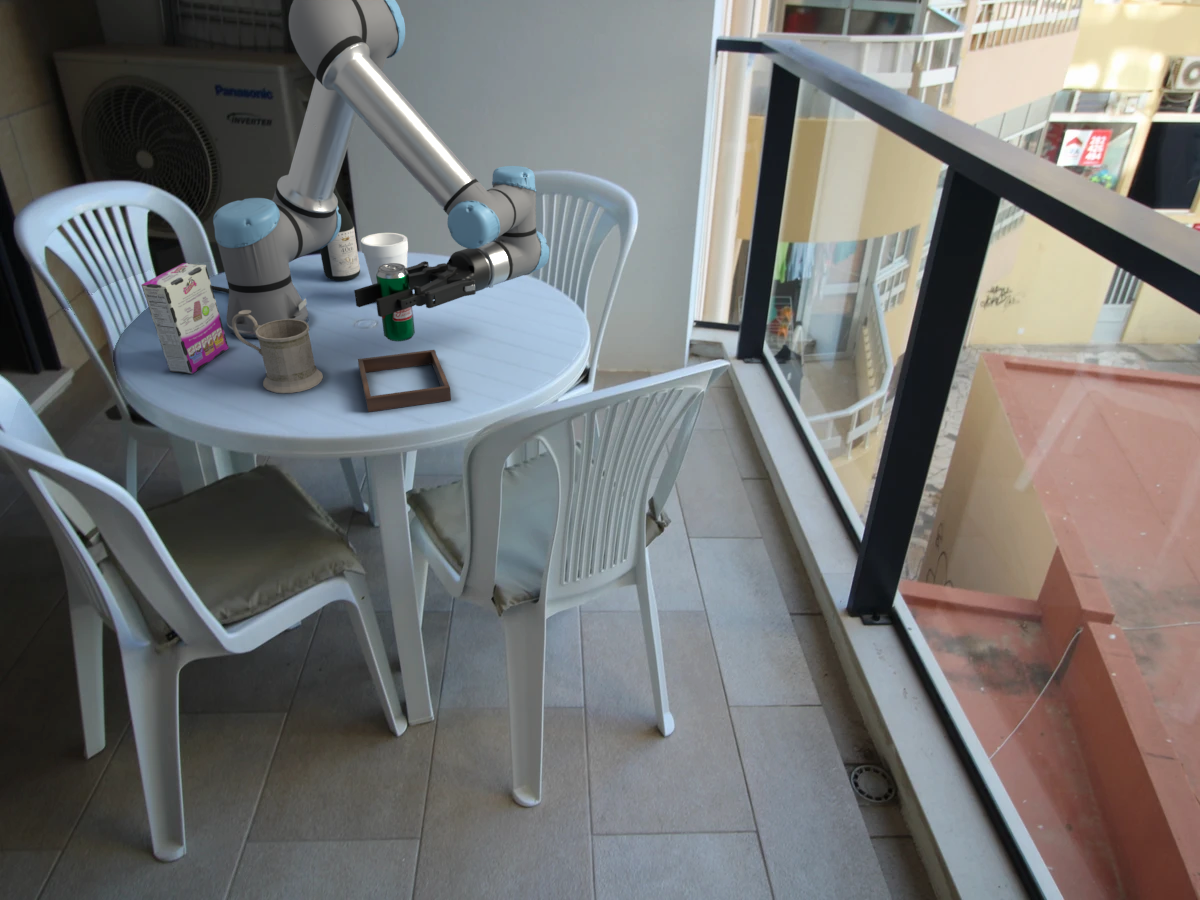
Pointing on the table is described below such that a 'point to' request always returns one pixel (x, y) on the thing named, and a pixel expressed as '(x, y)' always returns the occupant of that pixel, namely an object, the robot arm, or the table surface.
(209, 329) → the candy bar box
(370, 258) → the foam cup
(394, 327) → the soda can
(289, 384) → the mug
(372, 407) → the square wooden frame
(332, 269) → the wine bottle
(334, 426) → the table surface
